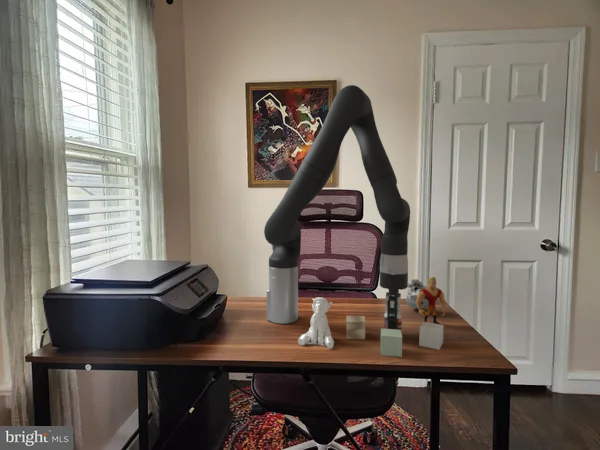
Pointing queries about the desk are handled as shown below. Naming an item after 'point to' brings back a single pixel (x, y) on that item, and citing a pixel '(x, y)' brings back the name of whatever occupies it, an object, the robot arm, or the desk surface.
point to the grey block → (431, 335)
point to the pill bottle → (399, 321)
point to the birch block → (355, 327)
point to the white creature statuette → (318, 325)
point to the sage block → (391, 342)
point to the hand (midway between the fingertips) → (392, 330)
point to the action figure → (431, 299)
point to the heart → (415, 294)
